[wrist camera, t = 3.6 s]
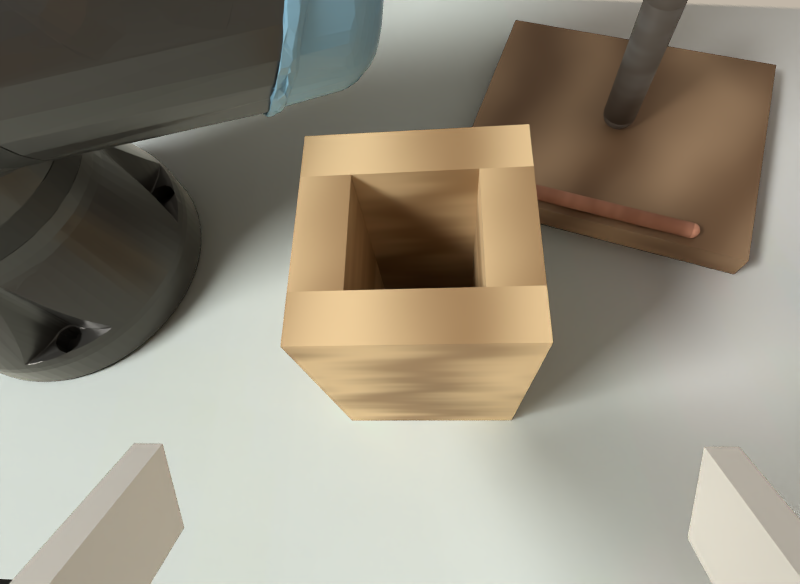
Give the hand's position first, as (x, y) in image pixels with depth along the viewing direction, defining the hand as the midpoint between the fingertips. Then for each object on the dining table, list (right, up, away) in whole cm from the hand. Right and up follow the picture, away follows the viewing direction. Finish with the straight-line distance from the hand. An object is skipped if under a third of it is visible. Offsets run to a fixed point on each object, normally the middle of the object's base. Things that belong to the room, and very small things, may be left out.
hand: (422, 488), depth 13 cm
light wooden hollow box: (+1, +2, +15) cm, 15 cm away
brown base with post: (+12, +14, +19) cm, 27 cm away
